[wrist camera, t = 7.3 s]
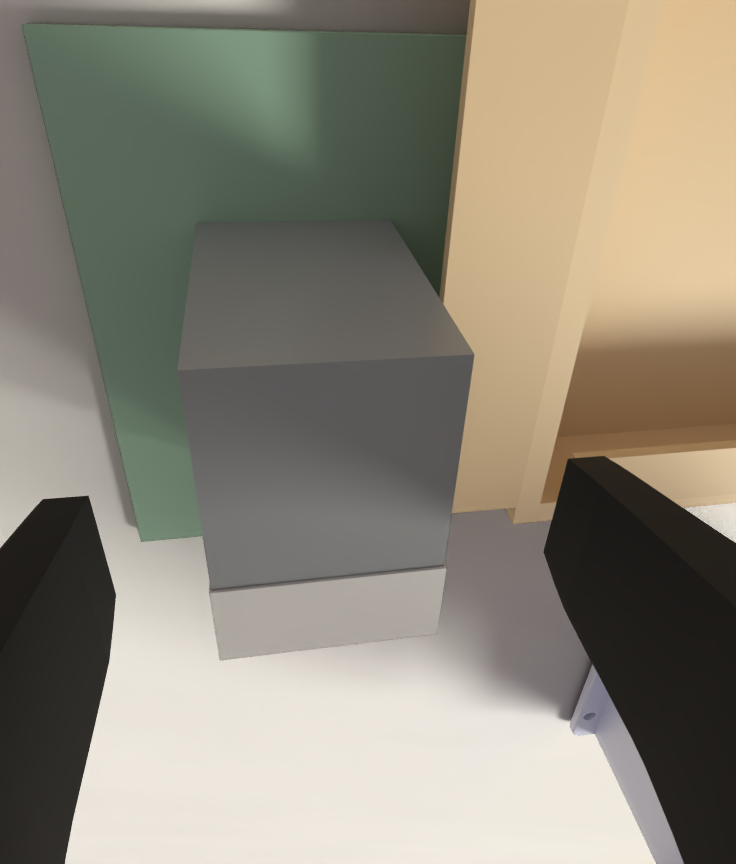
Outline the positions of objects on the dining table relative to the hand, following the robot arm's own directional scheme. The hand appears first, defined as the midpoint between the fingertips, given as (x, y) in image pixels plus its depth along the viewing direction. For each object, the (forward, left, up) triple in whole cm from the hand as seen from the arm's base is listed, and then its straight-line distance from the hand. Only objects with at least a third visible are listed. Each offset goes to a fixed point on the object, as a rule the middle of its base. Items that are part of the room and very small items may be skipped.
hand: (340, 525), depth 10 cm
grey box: (0, 0, -6) cm, 6 cm away
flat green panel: (0, 0, -7) cm, 7 cm away
